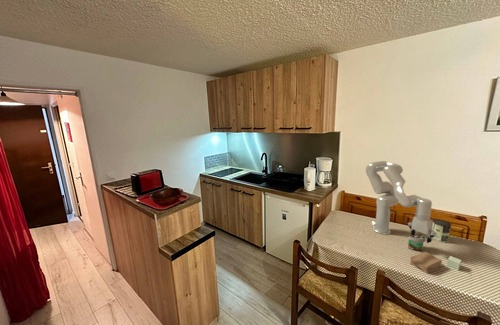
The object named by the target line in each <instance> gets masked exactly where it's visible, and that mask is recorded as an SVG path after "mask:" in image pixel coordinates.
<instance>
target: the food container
mask: <svg viewBox="0 0 500 325" xmlns="http://www.w3.org/2000/svg"><path fill="white" fill-rule="evenodd" d="M425 236H426V235H425V234H423V233H421V232H419V234H417V235H416V234H415V235H414V236H411V235H409V236H408V238H407V239H408V246H407V247H408V249H409V250H411V251H414V252H422V250H423V246H424V243H425V242H426V237H425Z"/></svg>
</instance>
